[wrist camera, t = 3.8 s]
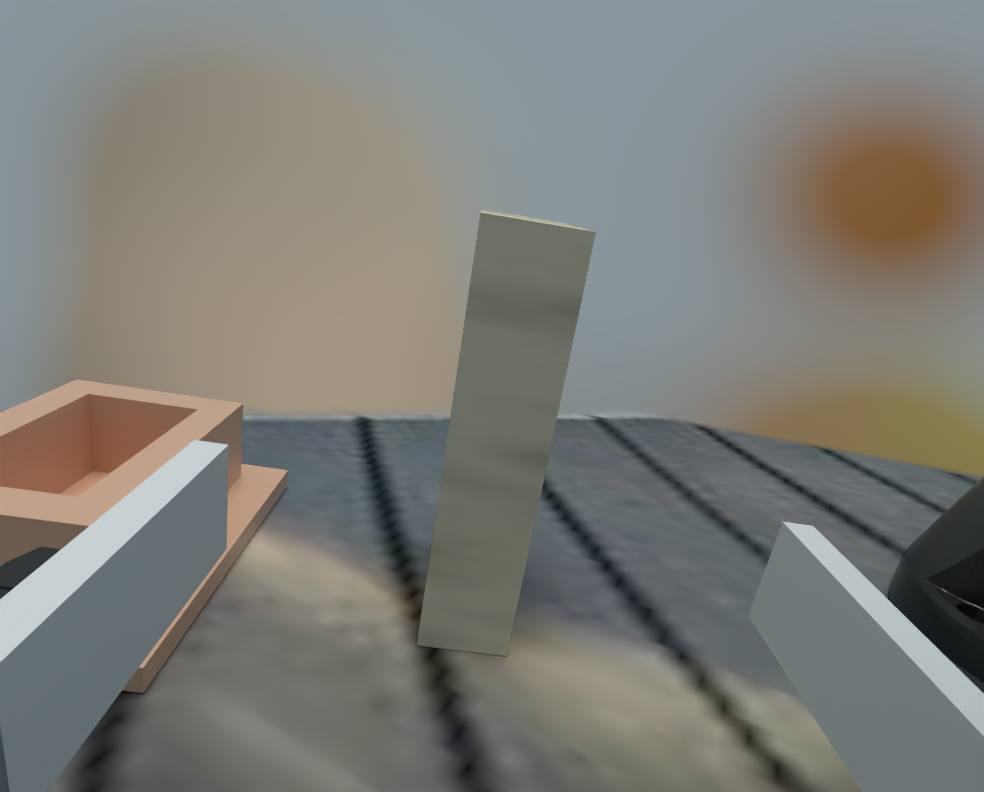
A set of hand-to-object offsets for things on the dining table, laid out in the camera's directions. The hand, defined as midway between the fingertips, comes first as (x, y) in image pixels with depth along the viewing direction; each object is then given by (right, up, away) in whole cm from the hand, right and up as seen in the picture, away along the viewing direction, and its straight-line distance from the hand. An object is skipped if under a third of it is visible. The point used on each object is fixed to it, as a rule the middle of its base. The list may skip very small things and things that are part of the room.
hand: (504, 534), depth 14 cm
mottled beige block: (-1, -5, +12) cm, 13 cm away
